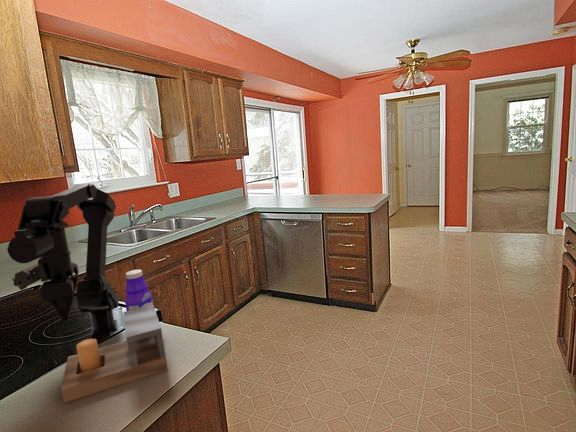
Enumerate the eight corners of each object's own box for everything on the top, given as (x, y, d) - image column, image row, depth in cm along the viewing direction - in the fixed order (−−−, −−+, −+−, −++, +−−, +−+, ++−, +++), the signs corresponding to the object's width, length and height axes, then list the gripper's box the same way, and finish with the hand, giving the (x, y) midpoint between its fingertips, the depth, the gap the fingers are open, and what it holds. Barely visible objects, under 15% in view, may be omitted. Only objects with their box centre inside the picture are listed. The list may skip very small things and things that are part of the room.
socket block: (70, 367, 84) (62, 327, 83) (159, 341, 93) (153, 304, 91) (63, 404, 71) (53, 357, 69) (167, 370, 80) (161, 328, 78)
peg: (83, 374, 81) (76, 342, 80) (103, 369, 83) (97, 336, 81) (82, 384, 77) (75, 350, 76) (103, 378, 79) (96, 344, 78)
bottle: (145, 338, 95) (135, 276, 92) (126, 338, 96) (115, 276, 93) (160, 325, 102) (151, 267, 99) (142, 325, 103) (133, 267, 100)
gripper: (20, 249, 88) (34, 308, 91) (0, 267, 71) (17, 340, 74) (73, 240, 93) (84, 297, 95) (65, 256, 76) (79, 324, 79)
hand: (67, 313), depth 86 cm, fingers open, 9 cm apart
